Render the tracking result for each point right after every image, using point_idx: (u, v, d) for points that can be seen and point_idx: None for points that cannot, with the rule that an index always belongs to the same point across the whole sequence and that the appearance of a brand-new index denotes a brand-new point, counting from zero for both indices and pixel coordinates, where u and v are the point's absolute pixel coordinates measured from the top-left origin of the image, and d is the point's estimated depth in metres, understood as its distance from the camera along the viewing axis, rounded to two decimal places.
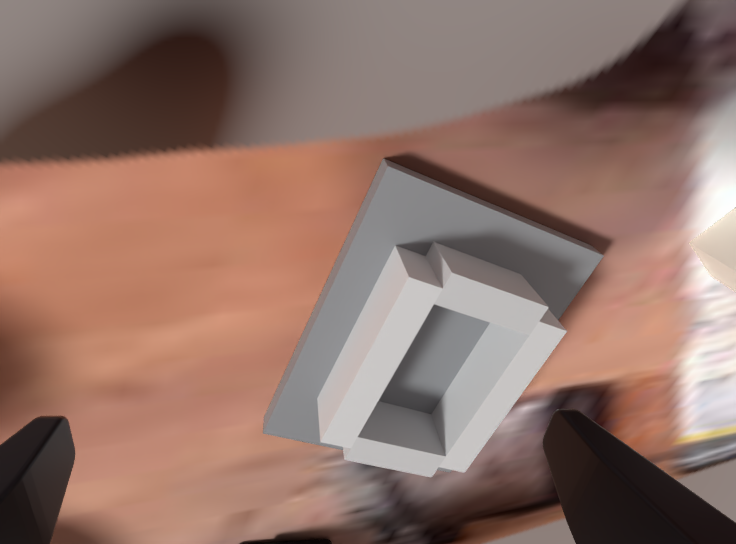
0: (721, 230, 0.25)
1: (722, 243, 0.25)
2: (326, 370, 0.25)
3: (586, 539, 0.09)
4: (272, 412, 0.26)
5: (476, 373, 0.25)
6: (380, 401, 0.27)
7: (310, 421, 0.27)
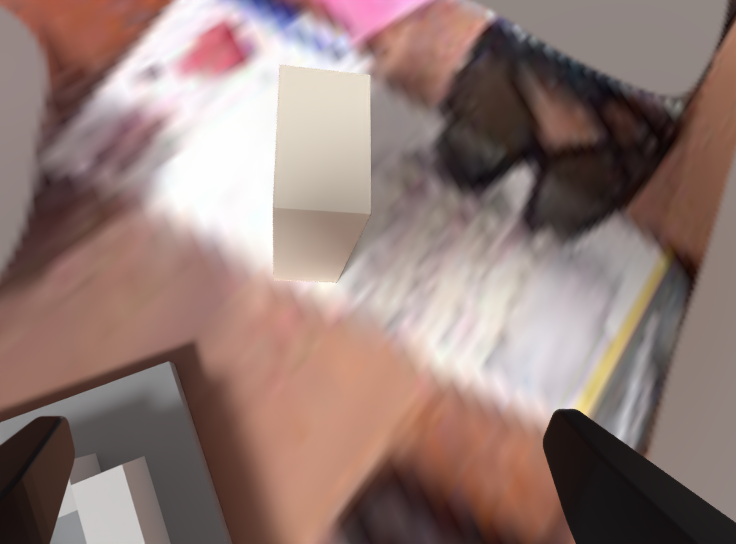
0: None
1: None
2: None
3: (586, 539, 0.09)
4: None
5: None
6: None
7: None
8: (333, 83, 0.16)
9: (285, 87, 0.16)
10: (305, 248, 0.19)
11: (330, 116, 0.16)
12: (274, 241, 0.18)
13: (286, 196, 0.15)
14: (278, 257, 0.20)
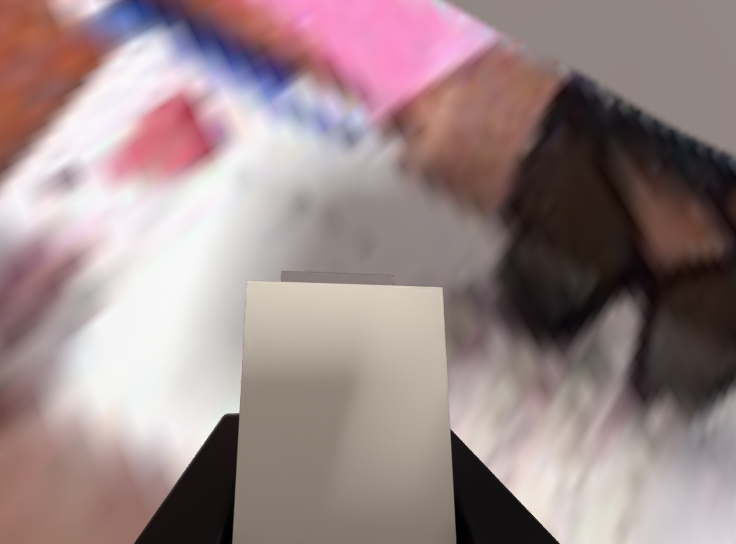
0: None
1: None
2: None
3: None
4: None
5: None
6: None
7: None
8: (364, 317, 0.07)
9: (259, 337, 0.07)
10: None
11: (362, 401, 0.07)
12: None
13: None
14: None
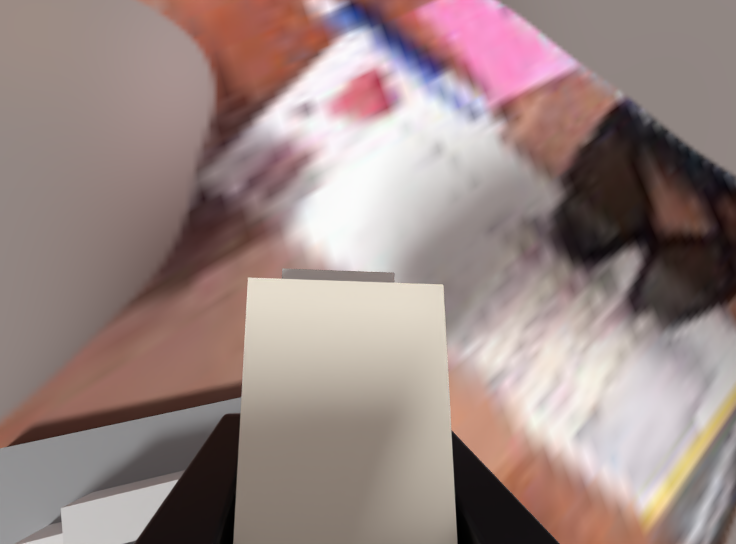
0: None
1: None
2: None
3: None
4: None
5: None
6: None
7: None
8: (366, 313, 0.07)
9: (260, 334, 0.07)
10: None
11: (363, 399, 0.07)
12: None
13: None
14: None
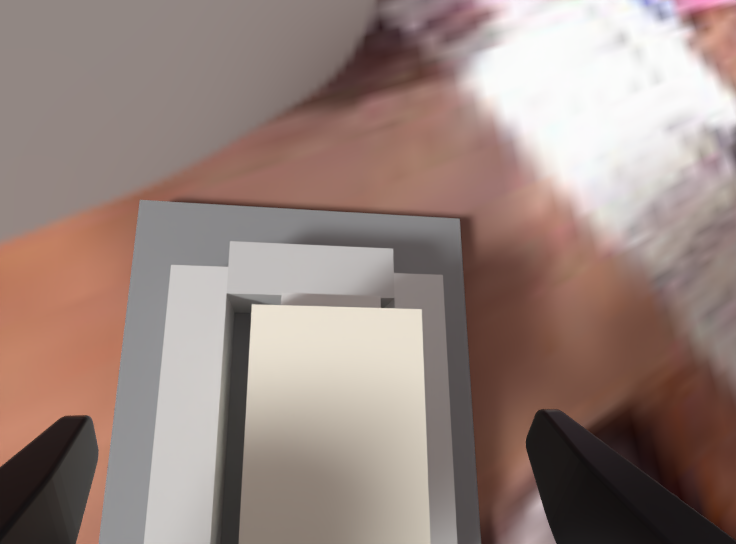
0: None
1: None
2: None
3: (567, 540, 0.09)
4: None
5: None
6: None
7: None
8: (353, 335, 0.09)
9: (262, 353, 0.08)
10: None
11: (350, 409, 0.08)
12: None
13: None
14: None
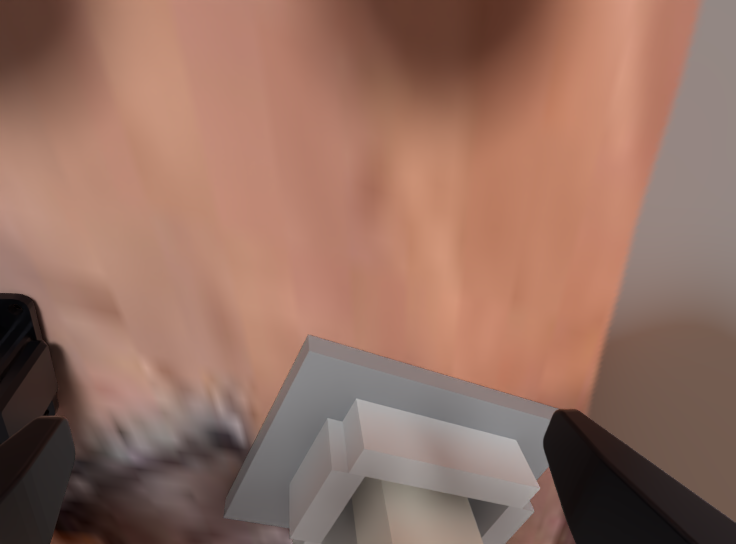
0: None
1: None
2: (393, 404, 0.24)
3: (586, 539, 0.09)
4: (339, 358, 0.22)
5: None
6: None
7: (322, 394, 0.23)
8: None
9: None
10: None
11: None
12: None
13: None
14: (384, 513, 0.22)
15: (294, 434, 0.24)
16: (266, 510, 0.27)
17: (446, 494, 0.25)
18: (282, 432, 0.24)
